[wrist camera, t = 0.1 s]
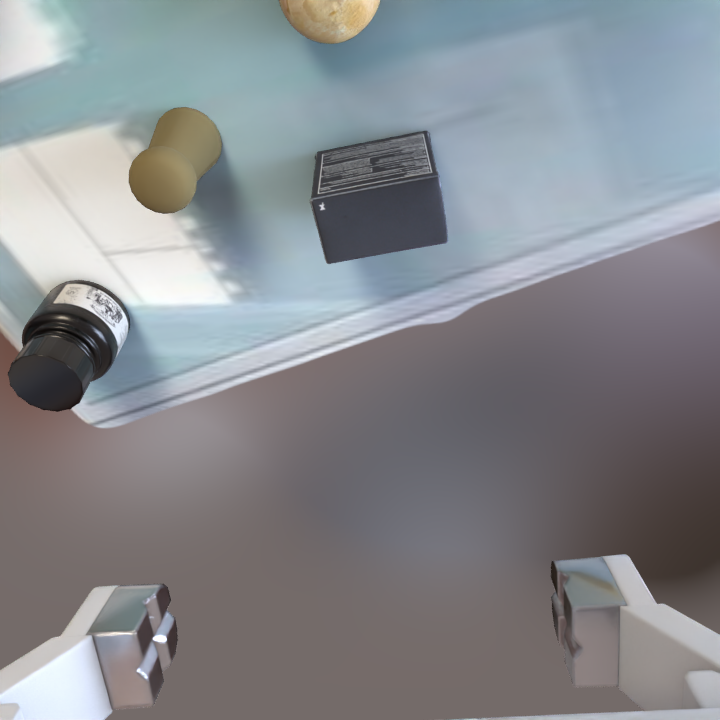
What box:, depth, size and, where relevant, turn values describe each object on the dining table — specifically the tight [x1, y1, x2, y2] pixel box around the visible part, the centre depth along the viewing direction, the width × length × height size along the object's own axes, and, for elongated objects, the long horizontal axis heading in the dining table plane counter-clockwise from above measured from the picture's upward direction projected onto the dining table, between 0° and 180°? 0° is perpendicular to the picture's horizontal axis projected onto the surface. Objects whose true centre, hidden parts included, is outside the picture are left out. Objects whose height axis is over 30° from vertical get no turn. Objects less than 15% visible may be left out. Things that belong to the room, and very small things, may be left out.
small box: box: [310, 131, 448, 264], centre depth 58 cm, size 11×6×10 cm, turn 101°
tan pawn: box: [129, 107, 222, 214], centre depth 56 cm, size 6×6×11 cm
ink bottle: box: [8, 280, 130, 412], centre depth 67 cm, size 10×9×12 cm
